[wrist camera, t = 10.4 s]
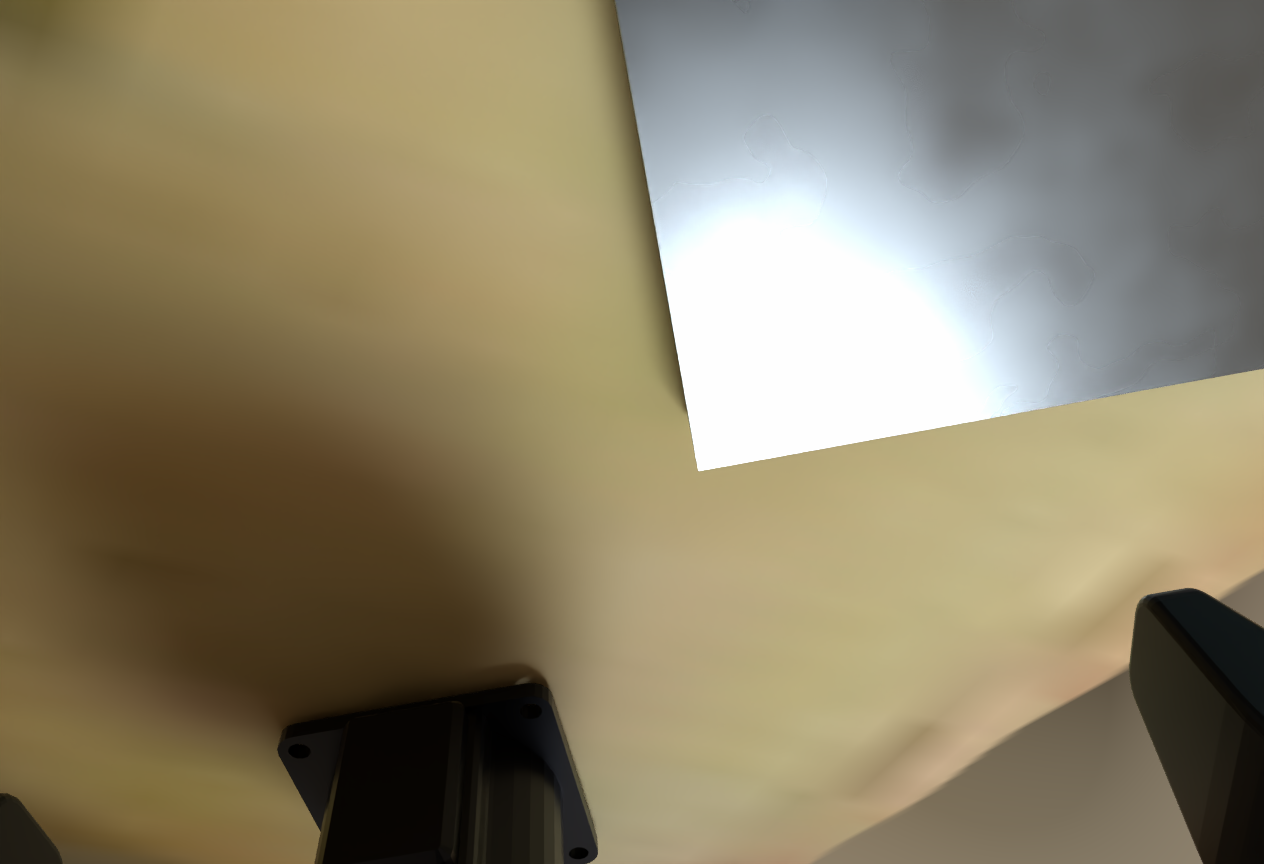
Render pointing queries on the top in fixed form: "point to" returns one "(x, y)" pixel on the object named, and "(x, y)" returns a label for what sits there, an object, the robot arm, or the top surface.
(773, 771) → the top surface
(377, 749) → the robot arm
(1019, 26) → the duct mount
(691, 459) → the top surface
